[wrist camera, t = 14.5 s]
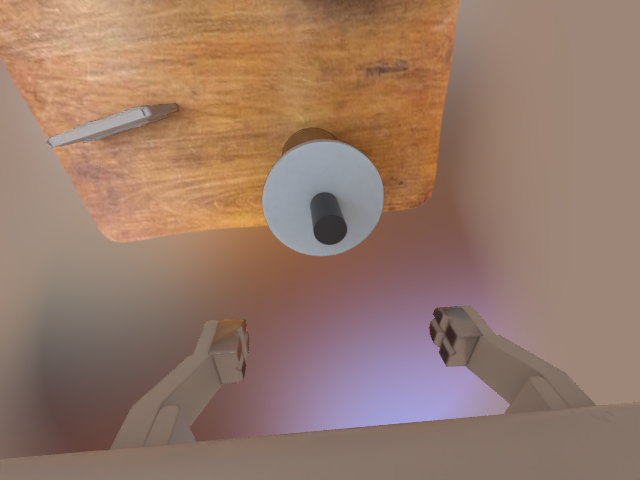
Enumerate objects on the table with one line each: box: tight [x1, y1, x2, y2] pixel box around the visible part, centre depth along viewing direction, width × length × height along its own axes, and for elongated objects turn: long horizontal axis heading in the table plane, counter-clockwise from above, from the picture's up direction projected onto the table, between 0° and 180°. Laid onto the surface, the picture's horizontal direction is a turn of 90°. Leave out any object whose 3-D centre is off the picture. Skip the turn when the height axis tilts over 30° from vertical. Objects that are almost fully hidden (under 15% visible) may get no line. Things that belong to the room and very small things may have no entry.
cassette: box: [45, 103, 178, 148], centre depth 31 cm, size 12×2×8 cm, turn 105°
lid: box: [262, 139, 384, 256], centre depth 23 cm, size 11×11×6 cm
